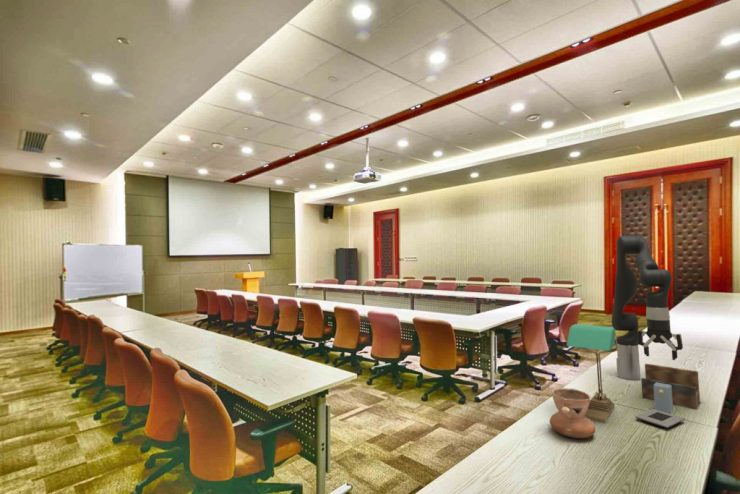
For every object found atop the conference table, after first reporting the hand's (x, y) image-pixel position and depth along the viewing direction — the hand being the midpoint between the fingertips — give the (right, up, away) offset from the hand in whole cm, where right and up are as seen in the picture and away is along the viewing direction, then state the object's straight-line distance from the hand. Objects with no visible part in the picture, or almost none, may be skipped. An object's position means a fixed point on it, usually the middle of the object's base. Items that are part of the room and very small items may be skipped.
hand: (660, 357), depth 149 cm
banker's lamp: (-27, -22, -2) cm, 35 cm away
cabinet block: (+1, -21, -1) cm, 21 cm away
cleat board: (+11, -21, +8) cm, 25 cm away
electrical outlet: (-9, -22, -11) cm, 26 cm away
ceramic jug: (-45, -22, -17) cm, 53 cm away
